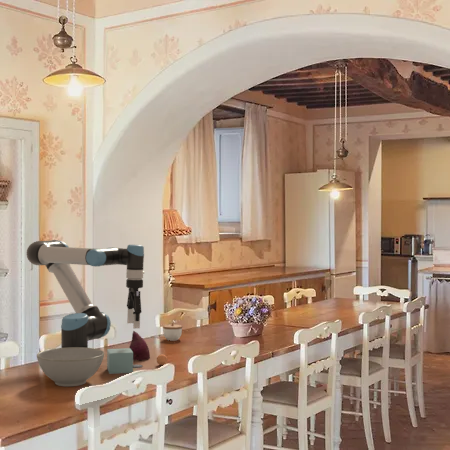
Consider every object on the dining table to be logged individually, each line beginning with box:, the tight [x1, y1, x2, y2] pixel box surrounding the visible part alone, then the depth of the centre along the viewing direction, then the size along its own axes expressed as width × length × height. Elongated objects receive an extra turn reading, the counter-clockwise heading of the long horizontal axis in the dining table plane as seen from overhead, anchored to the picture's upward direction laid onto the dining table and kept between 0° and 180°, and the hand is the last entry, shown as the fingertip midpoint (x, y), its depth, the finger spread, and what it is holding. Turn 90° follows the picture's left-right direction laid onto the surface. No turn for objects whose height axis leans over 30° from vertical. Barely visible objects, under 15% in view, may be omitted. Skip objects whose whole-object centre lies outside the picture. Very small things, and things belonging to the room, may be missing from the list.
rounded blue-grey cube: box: [106, 347, 134, 375], centre depth 303 cm, size 10×10×9 cm
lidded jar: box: [162, 322, 183, 342], centre depth 381 cm, size 11×11×9 cm
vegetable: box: [128, 330, 151, 361], centre depth 330 cm, size 10×10×15 cm
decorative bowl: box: [36, 347, 105, 387], centre depth 280 cm, size 27×27×12 cm
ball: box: [156, 353, 168, 366], centre depth 315 cm, size 5×5×5 cm
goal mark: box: [133, 364, 143, 369], centre depth 312 cm, size 6×6×1 cm
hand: (133, 325), depth 311 cm, fingers open, 13 cm apart
